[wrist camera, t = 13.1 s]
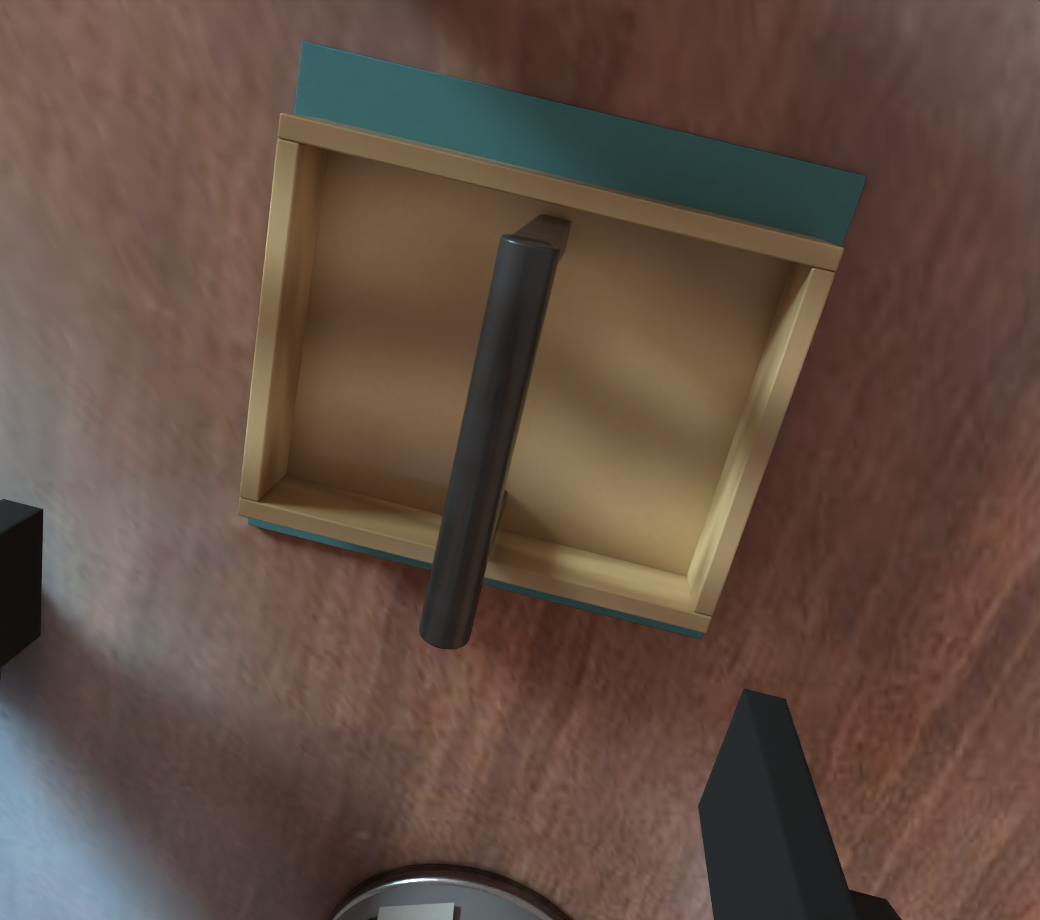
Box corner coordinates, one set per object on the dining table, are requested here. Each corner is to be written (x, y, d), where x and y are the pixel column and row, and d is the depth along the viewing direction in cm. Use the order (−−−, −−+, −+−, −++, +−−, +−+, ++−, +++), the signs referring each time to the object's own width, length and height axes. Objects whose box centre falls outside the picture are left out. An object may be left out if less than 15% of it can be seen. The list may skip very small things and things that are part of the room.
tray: (697, 584, 36) (731, 763, 25) (275, 478, 36) (134, 610, 25) (817, 237, 30) (925, 278, 20) (320, 118, 31) (165, 95, 20)
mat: (700, 636, 37) (700, 639, 36) (250, 521, 37) (247, 524, 37) (864, 176, 30) (867, 176, 29) (304, 42, 30) (301, 41, 30)
